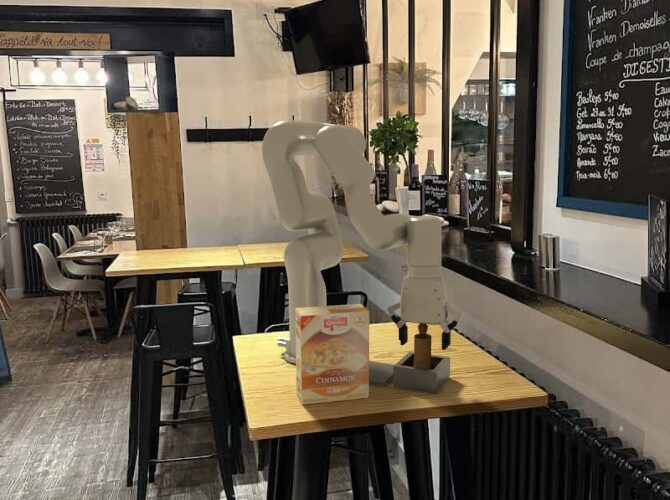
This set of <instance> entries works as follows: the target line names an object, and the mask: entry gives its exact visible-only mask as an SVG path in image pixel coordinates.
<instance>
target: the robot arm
mask: <svg viewBox="0 0 670 500" xmlns="http://www.w3.org/2000/svg"><path fill="white" fill-rule="evenodd" d="M366 142H367V140H366V137H365V136H364V134H363V132H362V131H361V129H359V128H357V127H356V126H354V125H345V124H344V125H343V124H333V123H327V122H320V121H308V120H306V121H305V120H295V119H294V120H282V121H278V122H276V123H274V124H273V125H271V126H270V127H269V128H268V130H267V131H266V133H265V134H264V136H263V139H262V143H261V154H262V160H263V163H264V166H265V169H266V172H267V174H268V177H269V180H270V183H271V188H272V193H273V196H274V201H275V205H276V208H277V212H278V216H279V219H280V223H281V224H282V226H283V227H284V228H285V229H286V230H288V231H291V232H300V231H306V230H307V231H308V234H305V235H300V236H298V237H295V238H293V239H291V240H290V241H289V242H288V243H287V244H286V246H285V248H284V253H283V261H284V267H285V271H286V275H287V286H288V315H289V316H288V317H289V319H288V320H289V321H288V323H289V328H288V331H289V338H288V337H282V336H278V339H277V347H280V348H285V351H284V353H283V358H284V360H285V361H287V362H288V363H291V364H295V365H296V320H295V308H303V307H319V306H327V289H326V283H325V281H324V278H323V275H322V272H321V271H323V270H327V269H329V268H332V267H335V266H337V265H338V264H339V263H340V262H341V261H342V259H343V257H344V251H345V248H344V241H343V238H342V233H341V229H340V226H339V221H338V217H337V214H336V211H335V207H334V205H333V202H332V201H331V199H330V198H329V197H328V196H327V195H326V194H324V193H323V192H320V191H310V190H309V189H308V185H307V183H306V178H305V175H304V172H303V170H302V169H301V167H300V165H299V164H298V162H297V161H296V159H295V156H319V158H320V159H321V160H322V162H323V163H324V165H325V166H326V167H327V169H328V171H330V173H331V175H333V178H334V180H335V181H336V182H337V183H338V185H339V186H340V188H341V189H342V191H343V193H344V203H345V207H346V208H345V209H346V211H347V215H348V218H349V221H350V222H351V224H352V226H353V227H354V228H355V229H354V230H356V231H357V233H358V235H359V236H360V237H361V238H362V239H363V241H364V243H366V245H368V246H369V247H370V248H372V249H373V250H376V251H380V252H381V251H383V252H384V251H387V250H390V249H395V248H398V247H403V246H406V250H407V251H406V259H407V260H406V264H404V265H401V267H400V270H401V272H404V273H406V276H405V277H403V279H402V285H401V291H400V300H399V301H398V302H396V303H394V304H392V305H389V306H388V307H387V308H386V309H387V312H388V314H389V316H390V319H391V320H392V322H393V323H394V324H395V325H396V327H397V329H398V341H400V346H404V345H405V344H407V343H408V342H409V340H408V337H409V335H408V334H409V333H408V331H409V330H408V329H409V327H408V324H407V323H413V324H420V323H421V324H427V325H432V326H433V325H435V326H436V325H439V326H440V328H441V329H442V330H443V331H442V333H441V350H442V351H446V350H447V349H448V348H449V347H450V346H451V339H452V335H451V334H452V332H451V331H452V330H454V328H455V327H456V326H458V325H459V323H460V321H461V320H462V318H463V316H464V313H463V312H462V311H460V310H459V309H457V308H455V307H454V306H452V305H450V304H448V293H447V286H446V281H445V278H444V277H442V221H441V219H440V218H439V217H437V216H433V215H419V216H418V215H412V214H411V215H410V214H406V213H393V214H387V215H384V214H383V213H382V211H381V210H380V209H379V208H378V206H377V204H376V203H375V201H374V199H373V198H372V197H373V196H372V194H371V190H370V187H371V183H373V181H374V179H375V176H376V172H375V170H374V169H373V167H372V165H371V164H370V163H369V161H368V160H367V158H366V157H365V156H364V153H365V151H366V148H367V143H366ZM397 310H399V315H398V313H397ZM449 314H450V315H452V316H453V317H454V318H453V319H452V321H451V322H450V321H449V320H448V315H449Z"/></svg>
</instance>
